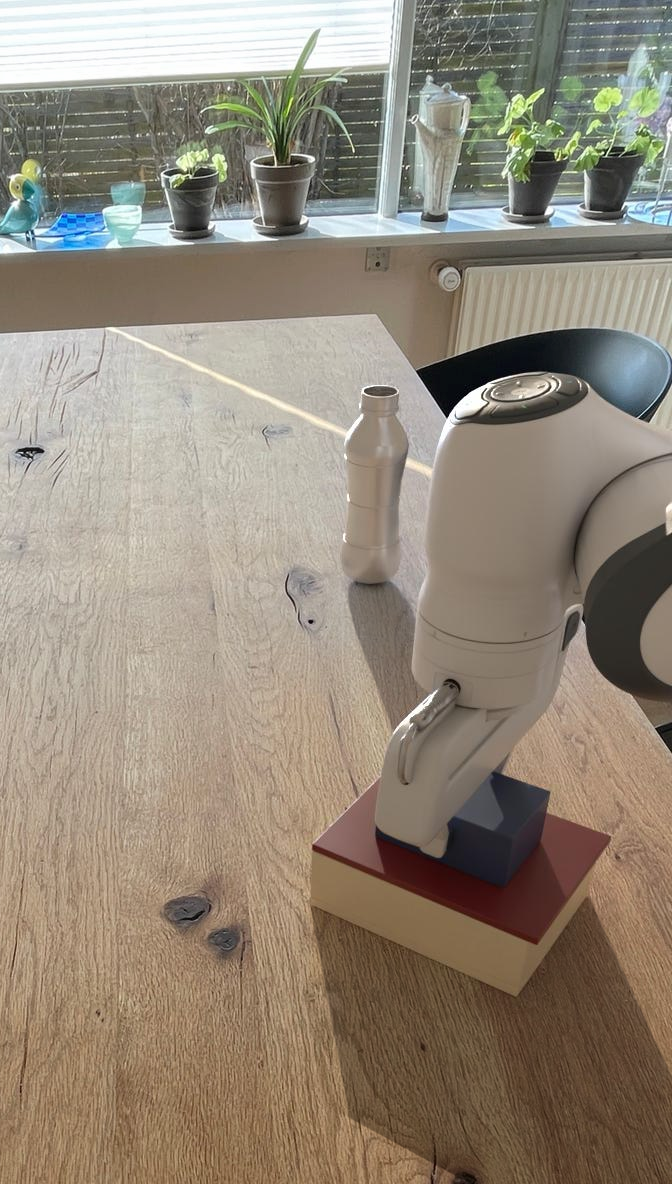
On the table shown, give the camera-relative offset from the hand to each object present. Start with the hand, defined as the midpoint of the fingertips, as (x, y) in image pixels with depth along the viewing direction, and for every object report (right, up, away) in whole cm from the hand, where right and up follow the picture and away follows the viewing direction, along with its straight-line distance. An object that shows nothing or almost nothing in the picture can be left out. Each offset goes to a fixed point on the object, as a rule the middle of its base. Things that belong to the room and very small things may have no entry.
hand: (460, 820), depth 80 cm
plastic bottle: (+1, +28, +45) cm, 53 cm away
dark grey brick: (0, -1, +1) cm, 2 cm away
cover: (0, -2, +1) cm, 2 cm away
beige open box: (0, -6, +5) cm, 8 cm away
